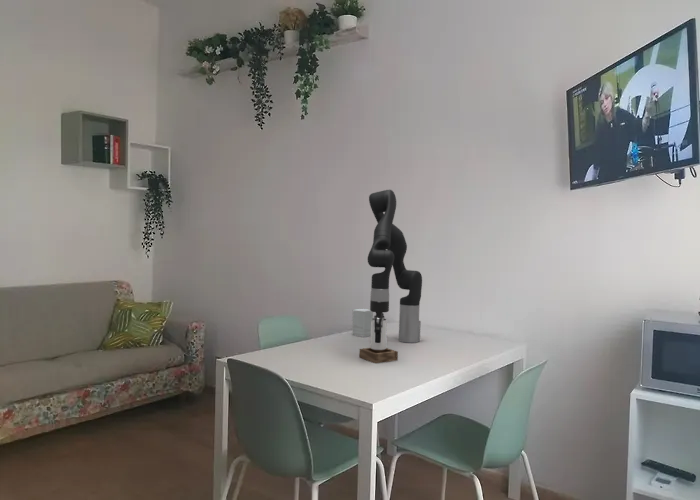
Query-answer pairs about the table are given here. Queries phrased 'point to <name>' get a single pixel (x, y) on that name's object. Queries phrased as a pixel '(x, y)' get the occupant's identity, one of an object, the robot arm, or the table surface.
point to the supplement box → (362, 322)
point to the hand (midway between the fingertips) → (378, 340)
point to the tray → (378, 355)
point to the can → (383, 336)
